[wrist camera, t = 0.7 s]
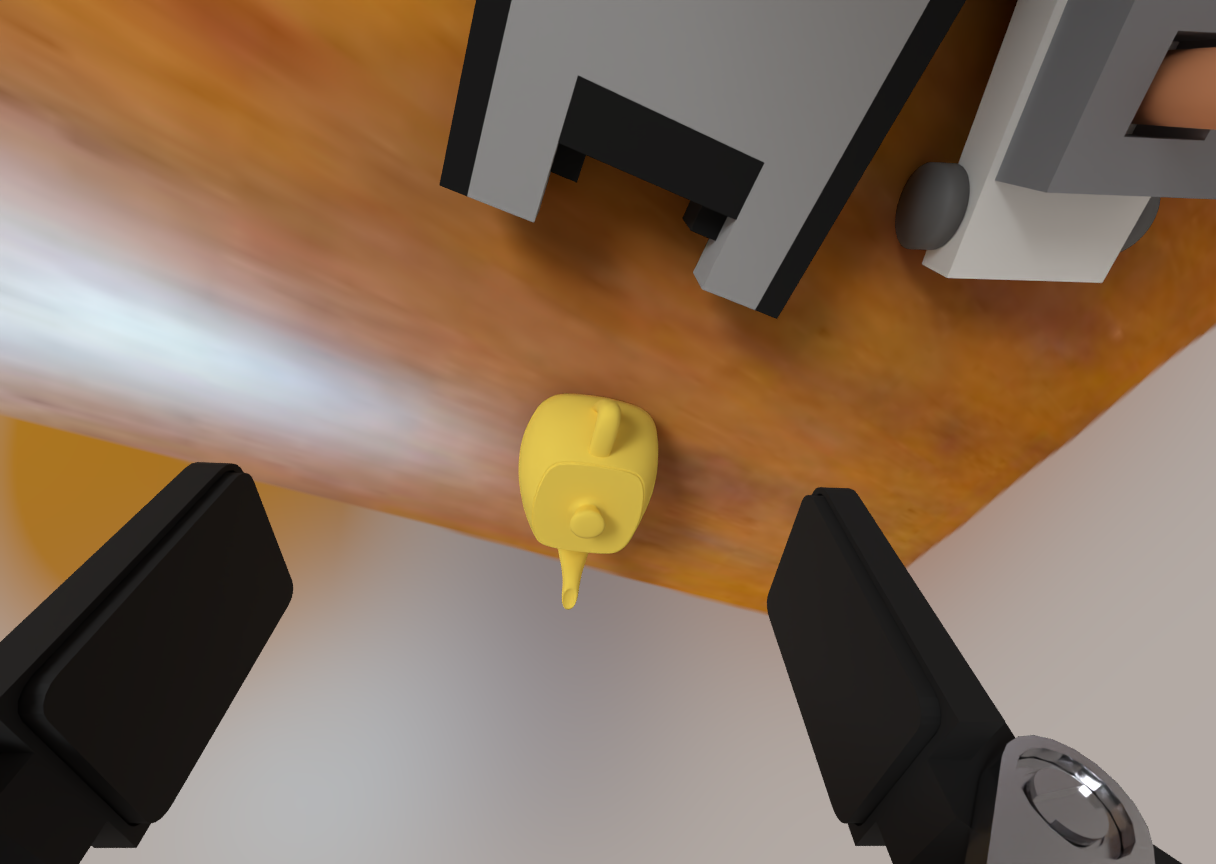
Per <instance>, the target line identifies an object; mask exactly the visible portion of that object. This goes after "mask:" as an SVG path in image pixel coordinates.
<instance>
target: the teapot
mask: <svg viewBox="0 0 1216 864" xmlns="http://www.w3.org/2000/svg"><path fill="white" fill-rule="evenodd" d="M657 467H658V438H657V430H656V426H655V423H654V421H653V419H652V418H651V416H650V415H649V414H648V413H647V412H646V411H645V410H643V409H641V408H640V407H638V406H636V405H633V404H630V403H627V402H624V401H619V400H615V399H611V398H606V397H601V396H593V395H584V394H558V395H555V396H552V397H550V398H548V399H546V400H545V401H543V402H542V403H541V404H540V406H539V407H538V408H537V409H536V411H535V413H534V414H533V416H532V417H531V419H530V421H529V423H528V425H527V428H526V430H525V433H524V436H523V439H522V443H521V448H520V455H519V484H520V492H521V497H522V502H523V507H524V510H525V513H526V516H527V519H528V522H529V524H530V527H531V529H532V531H533V533H534V535H535V537H536V539H537V540H538V541H539V542H540V543H542V544H544V545H546V546H550V547H553V548H558V552H559V557H560V562H561V567H562V576H563V588H562V603H563V606H564V608H565V609H571V608H573V606H574V605H575V603H576V601H577V597H578V591H579V585H580V579H581V574H582V571H583V568H584V565H585V562H586V559H587V556H588V553H601V554H609V553H615V552H618V551H620V550H621V549H623V548H624V547H625V546H626V545H627V543H628V542H629V541H630V539H631V538H632V536H633V534H634V533H635V531H636V529H637V527H638V525H639V523H640V521H641V519H642V517H643V515H644V513H645V511H646V508H647V506H648V504H649V501H650V498H651V495H652V492H653V489H654V485H655V480H656V475H657Z"/></svg>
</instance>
